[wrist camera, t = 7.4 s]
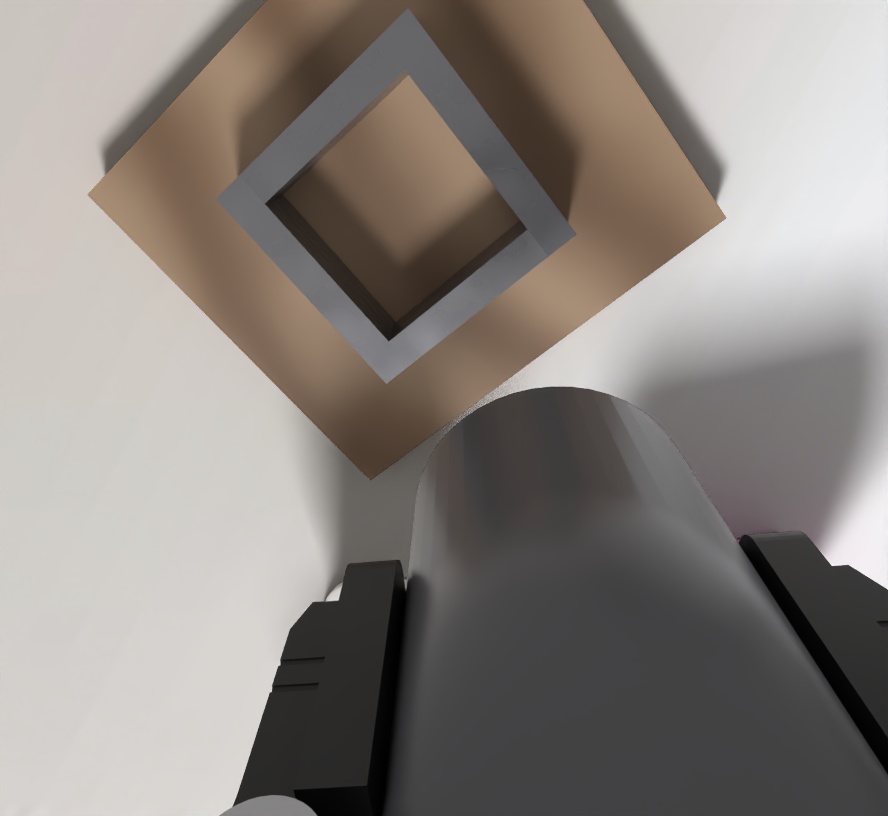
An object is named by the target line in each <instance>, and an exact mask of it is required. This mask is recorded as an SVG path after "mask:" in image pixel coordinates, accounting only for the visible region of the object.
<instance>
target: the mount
mask: <svg viewBox="0 0 888 816" xmlns="http://www.w3.org/2000/svg"><path fill="white" fill-rule="evenodd" d="M88 196H89V197H90V198H91V199H92V200H93V201H94V202H95V203H96V204H97V205H98V206H99V207H100V208H101V209H102V210H103V211H104V212H105V213H106V214H107V215H108V216H109V217H110V218H111V219H112V220H113V221H114V222H115V223H116V224H117V225H118V226H119V227H120V228H121V229H122V230H123V231H124V232H125V233H126V234H127V235H128V236H129V237H130V238H131V239H132V240H133V241H134V242H135V243H136V244H137V245H138V246H139V247H140V248H141V249H142V250H143V251H144V252H145V253H146V254H147V255H148V256H149V257H150V258H151V259H152V260H153V261H154V262H155V263H156V264H157V265H158V266H159V267H160V269H161V270H162V271H163V272H164V273H165V274H166V275H167V276H168V277H169V278H170V279H171V280H172V281H173V282H174V283H175V284H176V285H177V286H178V287H179V288H180V289H181V290H182V291H183V292H184V293H185V294H186V295H187V296H188V297H189V298H190V299H191V300H192V301H193V302H194V303H195V304H196V305H197V306H198V307H199V308H200V309H201V310H202V311H203V312H204V313H205V314H206V315H207V316H208V317H209V318H210V319H211V320H212V321H213V322H214V323H215V324H216V325H217V326H218V327H219V328H220V329H221V330H222V331H223V332H224V333H225V334H226V335H227V336H228V337H229V338H230V339H231V340H232V341H233V342H234V343H235V344H236V345H237V346H238V347H239V348H240V349H241V350H242V351H243V352H244V353H245V354H246V355H247V356H248V357H249V358H250V359H251V360H252V361H253V362H254V363H255V364H256V365H257V366H258V367H259V368H260V369H261V370H262V371H263V372H264V373H265V374H266V376H267V377H268V378H269V379H270V380H271V381H272V382H273V383H274V384H275V385H276V386H277V387H278V388H279V389H280V390H281V391H282V392H283V393H284V394H285V395H286V396H287V397H288V398H289V399H290V400H291V401H292V402H293V403H294V404H295V405H296V406H297V407H298V408H299V409H300V410H301V411H302V412H303V413H304V414H305V415H306V416H307V417H308V418H309V419H310V420H311V421H312V422H313V423H314V424H315V425H316V426H317V427H318V428H319V429H320V430H321V431H322V432H323V433H324V434H325V435H326V436H327V437H328V438H329V439H330V440H331V441H332V442H333V443H334V444H335V445H336V446H337V447H338V448H339V449H340V450H341V451H342V452H343V453H344V454H345V455H346V456H347V457H348V458H349V459H350V460H351V461H352V462H353V463H354V464H355V465H356V466H357V467H358V468H359V469H360V470H361V471H362V472H363V473H364V474H365V475H366V476H367V477H368V478H369V479H370V480H372V479H373V478H374V477H376V476H377V475H378V474H380V473H381V472H382V471H384V470H385V469H387V468H388V467H389V466H391V465H392V464H393V463H395V462H396V461H397V460H399V459H400V458H401V457H403V456H404V455H406V454H407V453H408V452H410V451H411V450H412V449H414V448H415V447H416V446H418V445H419V444H420V443H422V442H423V441H425V440H426V439H427V438H429V437H430V436H431V435H433V434H434V433H435V432H437V431H438V430H439V429H441V428H442V427H444V426H445V425H446V424H448V423H449V422H450V421H452V420H453V419H454V418H456V417H457V416H458V415H460V414H461V413H463V412H464V411H465V410H467V409H468V408H469V407H471V406H472V405H473V404H475V403H476V402H478V401H479V400H480V399H482V398H483V397H484V396H486V395H487V394H488V393H490V392H491V391H492V390H494V389H495V388H497V387H498V386H499V385H501V384H502V383H503V382H505V381H506V380H507V379H509V378H510V377H511V376H513V375H514V374H516V373H517V372H518V371H520V370H521V369H522V368H524V367H525V366H526V365H528V364H529V363H530V362H532V361H533V360H535V359H536V358H537V357H539V356H540V355H541V354H543V353H544V352H545V351H547V350H548V349H549V348H551V347H552V346H554V345H555V344H556V343H558V342H559V341H560V340H562V339H563V338H564V337H566V336H567V335H568V334H570V333H571V332H573V331H574V330H575V329H577V328H578V327H579V326H581V325H582V324H583V323H585V322H586V321H587V320H589V319H590V318H592V317H593V316H594V315H596V314H597V313H598V312H600V311H601V310H602V309H604V308H605V307H606V306H608V305H609V304H611V303H612V302H613V301H615V300H616V299H617V298H619V297H620V296H621V295H623V294H624V293H625V292H627V291H628V290H630V289H631V288H632V287H634V286H635V285H636V284H638V283H639V282H640V281H642V280H643V279H644V278H646V277H647V276H649V275H650V274H651V273H653V272H654V271H655V270H657V269H658V268H659V267H661V266H662V265H663V264H665V263H666V262H668V261H669V260H670V259H672V258H673V257H674V256H676V255H677V254H678V253H680V252H681V251H683V250H684V249H685V248H687V247H688V246H689V245H691V244H692V243H693V242H695V241H696V240H697V239H699V238H700V237H702V236H703V235H704V234H706V233H707V232H708V231H710V230H711V229H712V228H714V227H715V226H716V225H718V224H719V223H721V222H722V221H723V220H725V219H726V217H725V215H724V213H723V212H722V210H721V209H720V207H719V206H718V204H717V203H716V201H715V200H714V198H713V197H712V195H711V194H710V192H709V191H708V189H707V188H706V186H705V185H704V183H703V182H702V180H701V179H700V177H699V176H698V174H697V173H696V171H695V169H694V168H693V166H692V165H691V163H690V162H689V160H688V159H687V157H686V156H685V154H684V153H683V151H682V150H681V148H680V147H679V145H678V144H677V142H676V141H675V139H674V138H673V136H672V135H671V133H670V132H669V130H668V128H667V127H666V125H665V124H664V122H663V121H662V119H661V118H660V116H659V115H658V113H657V112H656V110H655V109H654V107H653V106H652V104H651V103H650V101H649V100H648V98H647V97H646V95H645V94H644V92H643V91H642V89H641V88H640V86H639V84H638V83H637V81H636V80H635V78H634V77H633V75H632V74H631V72H630V71H629V69H628V68H627V66H626V65H625V63H624V62H623V60H622V59H621V57H620V56H619V54H618V53H617V51H616V50H615V48H614V47H613V45H612V43H611V42H610V40H609V39H608V37H607V36H606V34H605V33H604V31H603V30H602V28H601V27H600V25H599V24H598V22H597V21H596V19H595V18H594V16H593V15H592V13H591V12H590V10H589V9H588V7H587V6H586V4H585V3H584V1H583V0H267V1H266V2H265V3H264V4H263V5H262V6H261V7H260V8H259V9H258V11H257V12H256V13H255V14H254V15H253V16H252V17H251V18H250V19H249V20H248V21H247V22H246V24H245V25H244V26H243V27H242V28H241V29H240V30H239V31H238V32H237V33H236V34H235V35H234V37H233V38H232V39H231V40H230V41H229V42H228V43H227V44H226V45H225V46H224V47H223V48H222V50H221V51H220V52H219V53H218V54H217V55H216V56H215V57H214V58H213V59H212V60H211V61H210V63H209V64H208V65H207V66H206V67H205V68H204V69H203V70H202V71H201V72H200V73H199V74H198V76H197V77H196V78H195V79H194V80H193V81H192V82H191V83H190V84H189V85H188V86H187V87H186V88H185V90H184V91H183V92H182V93H181V94H180V95H179V96H178V97H177V98H176V99H175V100H174V101H173V103H172V104H171V105H170V106H169V107H168V108H167V109H166V110H165V111H164V112H163V113H162V114H161V116H160V117H159V118H158V119H157V120H156V121H155V122H154V123H153V124H152V125H151V126H150V127H149V129H148V130H147V131H146V132H145V133H144V134H143V135H142V136H141V137H140V138H139V139H138V140H137V142H136V143H135V144H134V145H133V146H132V147H131V148H130V149H129V150H128V151H127V152H126V153H125V155H124V156H123V157H122V158H121V159H120V160H119V161H118V162H117V163H116V164H115V165H114V166H113V168H112V169H111V170H110V171H109V172H108V173H107V174H106V175H105V176H104V177H103V178H102V179H101V181H100V182H99V183H98V184H97V185H96V186H95V187H94V188H93V189H92V190H91V191H90V192H89V194H88Z"/></svg>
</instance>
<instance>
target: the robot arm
mask: <svg viewBox="0 0 888 816" xmlns="http://www.w3.org/2000/svg"><path fill="white" fill-rule="evenodd" d="M739 545H740V546H741V548H742V549H743V551H744V553H745V554H746V556H747V557H748V559H749V560H750V562H751V563H752V565H753V566H754V568H755V570H756V571H757V573H758V574H759V576H760V577H761V579H762V580H763V582H764V584H765V585H766V587H767V588H768V590H769V591H770V593H771V594H772V596H773V597H774V599H775V601H776V602H777V604H778V605H779V607H780V608H781V610H782V611H783V613H784V614H785V616H786V618H787V619H788V621H789V622H790V624H791V625H792V627H793V628H794V630H795V631H796V633H797V635H798V636H799V638H800V639H801V641H802V642H803V644H804V645H805V647H806V649H807V650H808V652H809V653H810V655H811V656H812V658H813V659H814V661H815V662H816V664H817V666H818V667H819V669H820V670H821V672H822V673H823V675H824V676H825V678H826V679H827V681H828V683H829V684H830V686H831V687H832V689H833V690H834V692H835V693H836V695H837V696H838V698H839V700H840V701H841V703H842V704H843V706H844V707H845V709H846V710H847V712H848V714H849V715H850V717H851V718H852V720H853V721H854V723H855V724H856V726H857V727H858V729H859V731H860V732H861V734H862V735H863V737H864V738H865V740H866V741H867V743H868V744H869V746H870V748H871V749H872V751H873V752H874V754H875V755H876V757H877V758H878V760H879V761H880V763H881V765H882V766H883V768H884V769H885V771H886V772H887V774H888V590H887V589H886V588H884V587H883V586H881V585H879V584H878V583H876V582H875V581H873V580H871V579H870V578H868V577H867V576H865V575H863V574H862V573H860V572H859V571H857V570H856V569H854V568H852V567H851V566H849V565H842V566H831V565H830V563H829V562H828V561H827V560H826V559H825V557H824V556H823V555H822V554H821V552H820V551H819V550H818V549H817V547H816V546H815V545H814V544H813V543H812V541H811V540H810V539H809V538H808V537H807V535H806V534H804V533H803V532H801V531H791V532H777V533H764V534H750V535H743V536H742V537H741V539H740V541H739ZM405 596H406V588H405V582H404V576H403V570H402V565H401V562H400V561H399V560H390V561H377V562H363V563H350V564H348V566H347V568H346V571H345V576H344V580H343V584H342V588H341V592H340V596H339V601H325V602H313V603H312V604H311V605H310V606H309V607H308V609H307V610H306V611H305V612H304V613H303V615H302V616H301V617H300V618H299V619H298V621H297V622H296V623H295V624H294V625H293V626H292V628H291V629H290V631H289V634H288V637H287V641H286V644H285V647H284V650H283V653H282V656H281V659H280V661H281V665H280V666H278V669H277V672H276V675H275V678H274V681H273V685H272V692H270V694H269V697H268V700H267V703H266V706H265V710H264V713H263V716H262V719H261V722H260V725H259V728H258V732H257V735H256V738H255V741H254V744H253V747H252V750H251V754H250V757H249V760H248V763H247V766H246V769H245V772H244V775H243V779H242V782H241V785H240V788H239V791H238V794H237V797H236V800H235V802H234V805H233V807H232V808H230V809H229V810H227V811H225V812H224V813H222V814H221V815H220V816H382V811H383V801H384V792H385V783H386V773H387V764H388V755H389V745H390V736H391V727H392V717H393V708H394V699H395V689H396V680H397V671H398V661H399V652H400V643H401V633H402V624H403V615H404V605H405Z"/></svg>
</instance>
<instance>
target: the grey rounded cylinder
mask: <svg viewBox="0 0 888 816" xmlns="http://www.w3.org/2000/svg"><path fill="white" fill-rule="evenodd" d="M382 816H888V774H887V772H886V771H885V769H884V768H883V766H882V765H881V763H880V761H879V760H878V758H877V757H876V755H875V754H874V752H873V751H872V749H871V748H870V746H869V744H868V743H867V741H866V740H865V738H864V737H863V735H862V734H861V732H860V731H859V729H858V727H857V726H856V724H855V723H854V721H853V720H852V718H851V717H850V715H849V714H848V712H847V710H846V709H845V707H844V706H843V704H842V703H841V701H840V700H839V698H838V696H837V695H836V693H835V692H834V690H833V689H832V687H831V686H830V684H829V683H828V681H827V679H826V678H825V676H824V675H823V673H822V672H821V670H820V669H819V667H818V666H817V664H816V662H815V661H814V659H813V658H812V656H811V655H810V653H809V652H808V650H807V649H806V647H805V645H804V644H803V642H802V641H801V639H800V638H799V636H798V635H797V633H796V631H795V630H794V628H793V627H792V625H791V624H790V622H789V621H788V619H787V618H786V616H785V614H784V613H783V611H782V610H781V608H780V607H779V605H778V604H777V602H776V601H775V599H774V597H773V596H772V594H771V593H770V591H769V590H768V588H767V587H766V585H765V584H764V582H763V580H762V579H761V577H760V576H759V574H758V573H757V571H756V570H755V568H754V566H753V565H752V563H751V562H750V560H749V559H748V557H747V556H746V554H745V553H744V551H743V549H742V548H741V546H740V545H739V543H738V542H737V540H736V539H735V537H734V536H733V534H732V532H731V531H730V529H729V528H728V526H727V525H726V523H725V522H724V520H723V519H722V517H721V515H720V514H719V512H718V511H717V509H716V508H715V506H714V505H713V503H712V502H711V500H710V498H709V497H708V495H707V494H706V492H705V491H704V489H703V488H702V486H701V484H700V483H699V481H698V480H697V478H696V477H695V475H694V474H693V472H692V471H691V469H690V467H689V466H688V464H687V463H686V461H685V460H684V458H683V457H682V455H681V454H680V452H679V450H678V449H677V447H676V446H675V444H674V443H673V442H672V440H671V439H670V437H669V436H668V434H667V433H666V432H665V431H664V430H663V429H662V428H661V427H660V426H659V425H658V424H657V423H656V422H655V421H654V420H653V419H652V418H651V417H649V416H648V415H647V414H645V413H644V412H643V411H642V410H640V409H638V408H636V407H635V406H633V405H631V404H630V403H628V402H626V401H624V400H621V399H619V398H617V397H614V396H612V395H609V394H606V393H602V392H598V391H594V390H591V389H584V388H576V387H544V388H535V389H529V390H525V391H521V392H516V393H513V394H510V395H507V396H504V397H502V398H499V399H496V400H494V401H492V402H490V403H488V404H486V405H484V406H482V407H480V408H478V409H477V410H475V411H474V412H472V413H471V414H469V415H468V416H467V417H465V418H464V419H462V420H461V421H460V422H459V423H458V424H457V425H456V426H454V427H453V428H452V429H451V430H450V431H449V432H448V433H447V434H446V435H445V437H444V438H443V439H442V440H441V441H440V442H439V444H438V445H437V447H436V448H435V450H434V451H433V453H432V454H431V456H430V457H429V459H428V461H427V463H426V466H425V468H424V470H423V472H422V475H421V478H420V482H419V485H418V488H417V496H416V503H415V512H414V521H413V531H412V540H411V549H410V559H409V568H408V577H407V587H406V596H405V605H404V615H403V624H402V633H401V643H400V652H399V661H398V671H397V680H396V689H395V699H394V708H393V717H392V727H391V736H390V745H389V755H388V764H387V773H386V783H385V792H384V801H383V811H382Z"/></svg>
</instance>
